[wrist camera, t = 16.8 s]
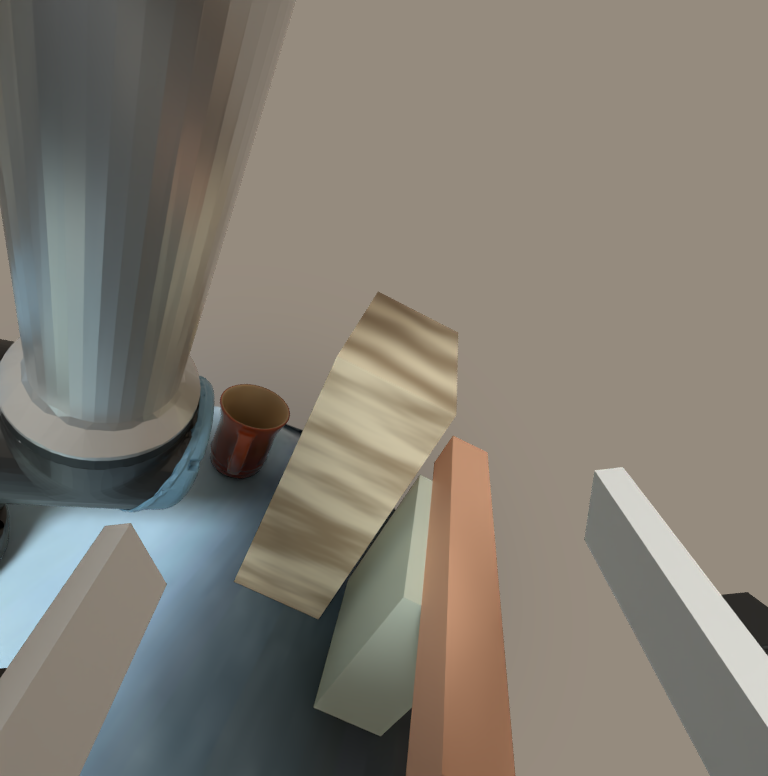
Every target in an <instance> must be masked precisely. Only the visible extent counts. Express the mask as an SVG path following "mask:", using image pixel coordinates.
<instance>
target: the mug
mask: <svg viewBox="0 0 768 776" xmlns="http://www.w3.org/2000/svg"><path fill="white" fill-rule="evenodd" d="M220 408H221V418H220V422H219V424H218V427H217V429H216V432H215V435H214V438H213V440H212V443H211V453H210V459H211V462H212V464H213V466H214V467H215V468H216V469H217V470H218V471H219V472H220V473H222V474H224V475H226V476H229V477H233V478H246V477H250V476H252V475H254V474H256V473H257V472H258V471H259V470H260V468H261V467H262V466H263V464H264V463H265V461H266V460H267V457H268V454H269V451H270V449H271V446H272V443H273V440H274V438H275V436H276V434H277V433H278V432H279V431H280V429H281V428H282V427H283V426H284V425H285V424H286V423H287V422H288V420H289V416H290V411H289V408H288V406H287V404H286V403H285V401H284V400H283V399H282V398H281V397H280V396H278V395H277V394H276V393H274V392H272V391H270V390H268V389H266V388H263V387H260V386H256V385H250V384H240V385H235V386H232V387H229V388H228V389H226V390H225V391H224V392H223V394H222V395H221V398H220Z"/></svg>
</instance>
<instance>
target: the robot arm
mask: <svg viewBox="0 0 768 776" xmlns="http://www.w3.org/2000/svg"><path fill="white" fill-rule="evenodd" d="M295 1H296V0H0V208H1V214H2V221H3V227H4V234H5V240H6V247H7V253H8V260H9V266H10V273H11V279H12V286H13V292H14V299H15V304H16V312H17V318H18V325H19V331H20V337H19V338H18V339H17V340H16V341H15V342H13V341H7V340H2V339H0V560H1V558H2V556H3V554H4V552H5V550H6V547H7V543H8V539H9V513H8V509H7V506H6V504H25V505H46V506H68V507H90V508H111V509H120V510H122V511H128V512H137V511H140V510H143V509H166V508H169V507H172V506H174V505H175V504H177V503H178V502H180V501H181V500H182V499H183V498H184V496H185V495H186V494H187V493H188V491H189V490H190V488H191V486H192V484H193V483H194V481H195V479H196V476H197V474H198V471H199V465H200V460H201V459H203V457H204V454H205V451H206V448H207V445H208V441H209V437H210V432H211V428H212V422H213V414H214V390H213V388H212V385H211V383H210V382H209V381H208V380H207V379H206V378H204V377H202V376H199V374H198V371H197V368H196V366H195V363H194V361H193V360H192V358H191V357H190V355H189V354H190V351H191V347H192V344H193V341H194V337H195V334H196V331H197V327H198V324H199V321H200V318H201V314H202V311H203V308H204V304H205V301H206V297H207V294H208V291H209V288H210V284H211V281H212V278H213V274H214V271H215V268H216V264H217V261H218V258H219V254H220V251H221V248H222V244H223V241H224V238H225V234H226V231H227V228H228V224H229V221H230V218H231V214H232V211H233V208H234V204H235V201H236V198H237V194H238V191H239V188H240V185H241V181H242V178H243V174H244V171H245V168H246V165H247V161H248V158H249V154H250V151H251V148H252V145H253V141H254V138H255V135H256V131H257V128H258V125H259V121H260V118H261V114H262V111H263V108H264V105H265V101H266V98H267V95H268V91H269V88H270V85H271V81H272V78H273V75H274V71H275V68H276V65H277V61H278V58H279V55H280V51H281V48H282V45H283V41H284V38H285V34H286V31H287V28H288V25H289V21H290V18H291V15H292V12H293V8H294V5H295ZM584 540H585V542H586V544H587V545H588V547H589V549H590V551H591V553H592V555H593V556H594V559H595V560H596V562H597V564H598V566H599V568H600V570H601V572H602V573H603V575H604V577H605V579H606V581H607V583H608V585H609V587H610V588H611V590H612V592H613V594H614V596H615V598H616V600H617V602H618V603H619V605H620V607H621V609H622V611H623V613H624V615H625V617H626V619H627V621H628V622H629V624H630V626H631V628H632V630H633V632H634V634H635V635H636V637H637V639H638V641H639V643H640V645H641V647H642V649H643V651H644V652H645V654H646V656H647V658H648V660H649V662H650V664H651V666H652V668H653V669H654V671H655V673H656V675H657V677H658V679H659V681H660V683H661V684H662V686H663V688H664V690H665V692H666V694H667V696H668V697H669V699H670V701H671V703H672V705H673V707H674V709H675V710H676V712H677V714H678V716H679V718H680V720H681V722H682V724H683V726H684V728H685V729H686V731H687V733H688V735H689V737H690V739H691V741H692V743H693V744H694V746H695V748H696V750H697V752H698V754H699V756H700V757H701V759H702V761H703V763H704V765H705V767H706V769H707V771H708V773H709V775H710V776H768V607H767V606H765V605H764V604H763V603H761V602H760V601H759V600H757V599H756V598H755V597H753V596H752V595H750V594H749V593H748V592H745V593H735V594H726V595H721V594H720V593H719V592H718V590H717V589H716V588H715V586H714V585H713V584H712V583H711V581H710V580H709V579H708V577H707V576H706V575H705V573H704V572H703V571H702V570H701V568H700V567H699V566H698V564H697V563H696V562H695V560H694V559H693V558H692V557H691V555H690V554H689V553H688V551H687V550H686V549H685V547H684V546H683V545H682V544H681V542H680V541H679V540H678V538H677V537H676V536H675V535H674V533H673V532H672V531H671V529H670V528H669V527H668V525H667V524H666V523H665V521H664V520H663V519H662V517H661V516H660V515H659V514H658V512H657V511H656V510H655V508H654V507H653V506H652V504H651V503H650V502H649V500H648V499H647V498H646V497H645V496H644V494H643V493H642V491H641V490H640V489H639V487H638V486H637V485H636V484H635V482H634V481H633V480H632V478H631V477H630V476H629V474H628V473H627V472H626V470H625V469H624V468H623V467H621V468H612V469H603V470H595V472H594V478H593V486H592V492H591V499H590V505H589V512H588V519H587V526H586V532H585V539H584ZM166 585H167V584H166V582H165V581H164V579H163V577H162V575H161V574H160V572H159V570H158V569H157V567H156V565H155V564H154V562H153V560H152V558H151V557H150V555H149V553H148V552H147V550H146V548H145V546H144V545H143V543H142V541H141V540H140V538H139V536H138V535H137V533H136V531H135V529H134V528H133V526H132V524H131V523H127V524H118V525H109V526H105V527H104V528H103V529H102V531H101V532H100V534H99V535H98V537H97V538H96V540H95V541H94V543H93V544H92V545H91V547H90V548H89V550H88V551H87V553H86V554H85V556H84V557H83V559H82V560H81V561H80V563H79V564H78V566H77V567H76V569H75V570H74V572H73V573H72V575H71V576H70V577H69V579H68V580H67V582H66V583H65V585H64V586H63V588H62V589H61V591H60V592H59V593H58V595H57V596H56V598H55V599H54V601H53V602H52V604H51V605H50V607H49V608H48V609H47V611H46V612H45V614H44V615H43V617H42V618H41V620H40V621H39V623H38V624H37V625H36V627H35V628H34V630H33V631H32V633H31V634H30V636H29V637H28V639H27V640H26V641H25V643H24V644H23V646H22V647H21V649H20V650H19V652H18V653H17V655H16V656H15V657H14V659H13V660H12V662H11V663H10V665H9V666H8V668H2V669H0V776H79V775H80V772H81V770H82V768H83V766H84V764H85V761H86V759H87V757H88V755H89V753H90V751H91V748H92V746H93V744H94V742H95V740H96V737H97V735H98V733H99V731H100V729H101V727H102V724H103V722H104V720H105V718H106V716H107V714H108V711H109V709H110V707H111V705H112V703H113V700H114V698H115V696H116V694H117V692H118V690H119V687H120V685H121V683H122V681H123V679H124V676H125V674H126V672H127V670H128V668H129V666H130V663H131V661H132V659H133V657H134V655H135V652H136V650H137V648H138V646H139V644H140V642H141V639H142V637H143V635H144V633H145V631H146V628H147V626H148V624H149V622H150V620H151V618H152V615H153V613H154V611H155V609H156V607H157V605H158V602H159V600H160V598H161V596H162V594H163V591H164V589H165V587H166Z"/></svg>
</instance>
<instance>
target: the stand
mask: <svg viewBox="0 0 768 776" xmlns="http://www.w3.org/2000/svg"><path fill="white" fill-rule="evenodd" d="M457 359H458V332H456V331H453V330H452V329H450V328H448V327H446V326H444V325H442V324H440V323H438V322H436V321H434V320H432V319H431V318H429V317H427V316H425V315H423V314H421V313H419V312H417V311H415V310H413V309H411V308H409V307H407V306H405V305H403V304H401V303H399V302H397V301H395V300H393V299H391V298H390V297H388V296H386V295H384V294H382V293H380V292H378V293H377V294H376V296H375V297H374V299H373V301H372V302H371V304H370V305H369V307H368V309H367V310H366V312H365V313H364V315H363V316H362V318H361V320H360V321H359V323H358V324H357V326H356V327H355V329H354V331H353V332H352V334H351V335H350V337H349V338H348V340H347V342H346V343H345V345H344V347H343V348H342V349H341V351H340V353H339V354H338V356H337V358H336V360H335V362H334V364H333V366H332V369H331V371H330V373H329V375H328V377H327V380H326V382H325V384H324V386H323V388H322V391H321V393H320V395H319V397H318V399H317V401H316V404H315V406H314V408H313V410H312V413H311V415H310V417H309V419H308V421H307V423H306V425H305V428H304V430H303V432H302V434H301V436H300V439H299V441H298V443H297V445H296V447H295V449H294V452H293V454H292V456H291V458H290V460H289V463H288V465H287V467H286V469H285V471H284V473H283V476H282V478H281V480H280V482H279V484H278V487H277V489H276V491H275V493H274V495H273V498H272V500H271V502H270V504H269V506H268V508H267V511H266V513H265V515H264V517H263V519H262V522H261V524H260V526H259V528H258V530H257V532H256V535H255V537H254V539H253V541H252V543H251V546H250V548H249V550H248V552H247V554H246V557H245V559H244V561H243V563H242V565H241V567H240V570H239V572H238V574H237V576H236V578H235V581H234V582H236V583H238V584H240V585H243V586H245V587H247V588H249V589H251V590H254V591H256V592H258V593H260V594H263V595H265V596H267V597H269V598H272V599H274V600H276V601H278V602H281V603H283V604H285V605H287V606H289V607H292V608H294V609H296V610H298V611H301V612H303V613H305V614H307V615H310V616H312V617H314V618H316V619H319V618H320V616H321V615H322V613H323V612H324V610H325V609H326V607H327V606H328V605H329V603H330V602H331V600H332V599H333V597H334V596H335V594H336V593H337V591H338V590H339V588H340V587H341V585H342V584H343V582H344V581H345V579H346V578H347V576H348V575H349V573H350V572H351V570H352V569H353V567H354V566H355V565H356V563H357V562H358V560H359V559H360V557H361V556H362V554H363V553H364V551H365V550H366V548H367V547H368V545H369V544H370V542H371V541H372V539H373V538H374V536H375V535H376V533H377V532H378V530H379V529H380V527H381V526H382V525H383V523H384V522H385V520H386V519H387V517H388V516H389V514H390V513H391V511H392V510H393V508H394V507H395V505H396V504H397V502H398V501H399V499H400V498H401V496H402V495H403V493H404V492H405V490H406V489H407V487H408V486H409V485H410V483H411V481H412V480H413V478H414V477H415V475H416V474H417V473H418V471H419V470H420V468H421V467H422V465H423V464H424V462H425V461H426V459H427V458H428V456H429V455H430V453H431V452H432V450H433V449H434V447H435V446H436V444H437V443H438V441H439V440H440V439H441V437H442V436H443V434H444V433H445V431H446V430H447V428H448V427H449V425H450V424H451V422H452V421H453V419H454V418H455V416H456V404H457Z"/></svg>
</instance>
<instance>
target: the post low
mask: <svg viewBox="0 0 768 776" xmlns="http://www.w3.org/2000/svg"><path fill="white" fill-rule="evenodd" d="M432 483H433V481H432V480H430V479H428V478H426V477H424V476H422V475H419V477H418V478H417V480H416V481H415V483H414V484H413V486H412V487H411V488H410V490H409V491H408V493H407V494H406V496H405V497H404V499H403V500H402V502H401V503H400V505H399V506H398V507H397V509H396V510H395V512H394V513H393V515H392V516H391V518H390V519H389V521H388V522H387V524H386V525H385V527H384V528H383V530H382V531H381V532H380V534H379V535H378V537H377V538H376V540H375V541H374V543H373V544H372V546H371V547H370V549H369V550H368V552H367V553H366V554H365V556H364V557H363V559H362V560H361V562H360V563H359V565H358V566H357V568H356V569H355V571H354V572H353V574H352V575H351V577H350V578H349V579H348V582H347V585H346V589H345V593H344V597H343V600H342V604H341V608H340V611H339V615H338V619H337V622H336V626H335V630H334V633H333V637H332V641H331V644H330V648H329V652H328V655H327V659H326V663H325V666H324V670H323V674H322V678H321V681H320V685H319V689H318V692H317V696H316V700H315V703H314V708H316V709H318V710H320V711H323V712H325V713H327V714H330V715H332V716H334V717H337V718H339V719H341V720H344V721H346V722H348V723H351V724H353V725H355V726H358V727H360V728H362V729H365V730H367V731H369V732H372V733H374V734H376V735H379V736H382V735H383V734H384V733H385V732H386V731H387V730H388V729H389V728H390V727H391V726H392V725H393V724H395V723H396V722H397V721H398V720H399V719H400V718H401V717H402V716H403V715H404V714H405V713H406V712H407V711H409V710H410V709H411V708H412V703H413V692H414V681H415V670H416V659H417V648H418V637H419V626H420V615H421V604H422V593H423V582H424V571H425V560H426V549H427V538H428V527H429V516H430V505H431V494H432Z"/></svg>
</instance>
